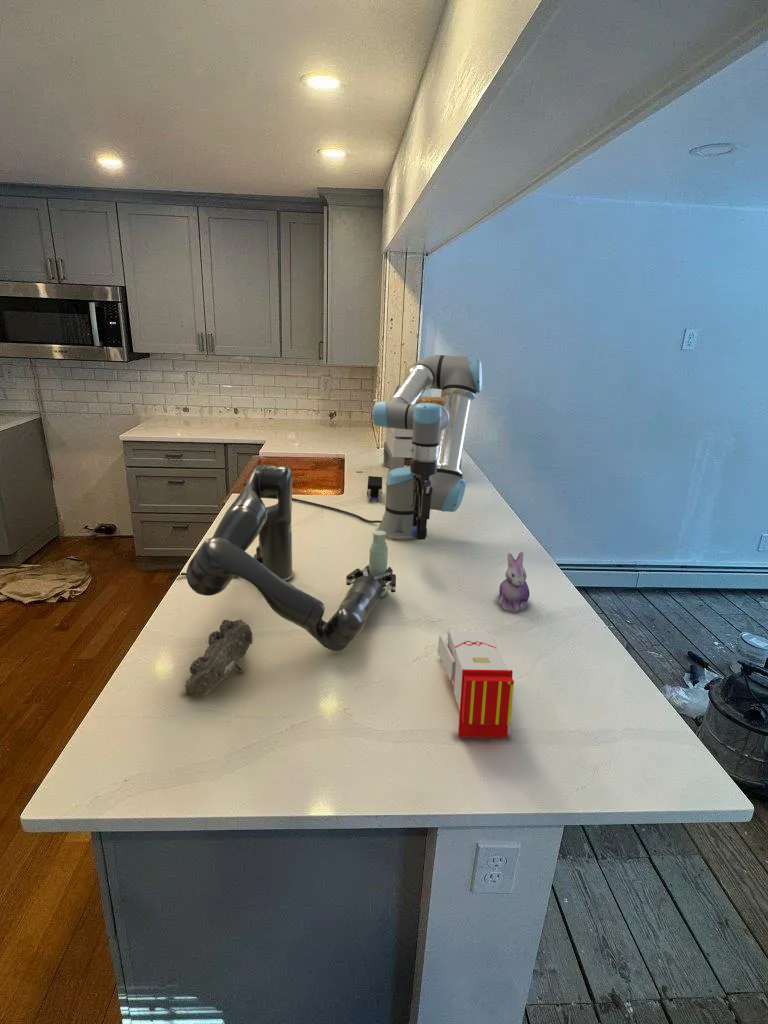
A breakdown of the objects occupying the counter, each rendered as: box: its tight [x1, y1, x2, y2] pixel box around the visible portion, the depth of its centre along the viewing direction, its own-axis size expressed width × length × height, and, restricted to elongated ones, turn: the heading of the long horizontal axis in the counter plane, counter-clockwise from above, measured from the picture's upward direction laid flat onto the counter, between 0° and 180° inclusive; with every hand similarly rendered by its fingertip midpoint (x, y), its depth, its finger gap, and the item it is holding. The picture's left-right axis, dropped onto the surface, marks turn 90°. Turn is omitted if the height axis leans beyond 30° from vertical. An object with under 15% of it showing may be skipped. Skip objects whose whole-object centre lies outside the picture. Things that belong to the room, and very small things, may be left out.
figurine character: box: [366, 475, 383, 502], centre depth 235 cm, size 7×8×15 cm
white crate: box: [383, 384, 463, 472], centre depth 268 cm, size 34×33×41 cm
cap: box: [411, 526, 428, 539], centre depth 167 cm, size 5×5×2 cm
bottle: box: [368, 529, 389, 598], centre depth 155 cm, size 5×5×18 cm
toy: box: [437, 628, 515, 738], centre depth 117 cm, size 12×13×30 cm
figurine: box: [497, 551, 530, 612], centre depth 152 cm, size 9×10×15 cm
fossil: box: [184, 619, 253, 697], centre depth 121 cm, size 22×10×15 cm
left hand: (380, 568), depth 158 cm, fingers closed on bottle, 5 cm apart
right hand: (418, 535), depth 167 cm, fingers closed on cap, 4 cm apart
